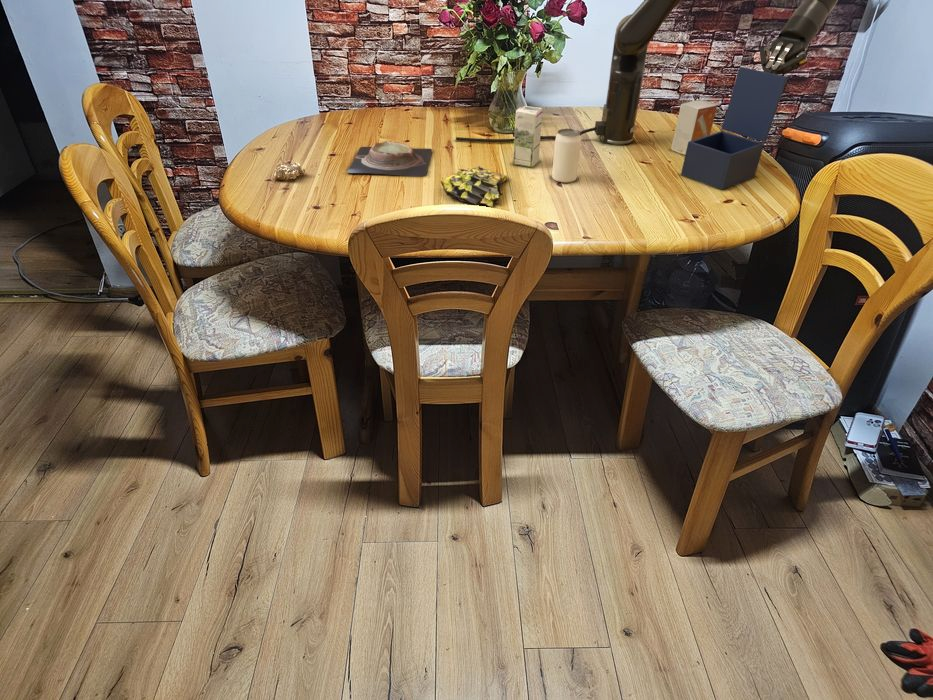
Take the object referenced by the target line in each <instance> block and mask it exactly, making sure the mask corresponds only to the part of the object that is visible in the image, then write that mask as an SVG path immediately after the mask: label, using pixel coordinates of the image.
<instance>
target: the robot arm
mask: <svg viewBox="0 0 933 700" xmlns="http://www.w3.org/2000/svg"><path fill="white" fill-rule="evenodd" d="M682 1H683V0H643V1H642V2H641V3H640V5H639V6H638V7H637V8H636V9H635V10H634V11H633V12H632V14H631V13H630V14H628V15H626V16H624V17H623V18H622V19H621V20H620V21H619V22H618V25H616V29H615V32H614V33H615V34H614V40H613V48H612V56H611V61H610V70H609V78H608V86H607V91H606V93H607V94H606V101H605V103H604V104H603V108H602V109H603V110H602V116H601V120H596V121H595V124H594V126H593V127H590V128H587V129H584V130H581V131H580V136H582V135H584V134H586V133H590V132H594V133H595V135H596V136H597V137H599V138H600V140H601V142H602V143H603V144H610V145H617V146H623V145H624V146H625V145H629V144H631V143H633V141H634V135H635V133H634V132H635V131H636V130H637V125H636V122H637V115H638V110H639V104H640V97H641V91H642V86H643V80H644V74H645V67H646V58H647V52H648V47H649V44H650V43H651V41H652V39H653V37H654V36H655V35H656V33H657V32H658V31H659V29H660V28H661V26H662V25H663V24H664V22H665V20H666V19H667V18H668V16H669V15H670V14H671V13H672V12H673V11H674V9H675V8H676V7H677V6H678V5H679V4H680V3H681V2H682ZM838 1H839V0H803V1H802V2H801V4H799V6H798V7H797V8H796V9H795V10H794V12H793V13H792V15H791V16H790V18H789V19H788V21H787V22H786V23H785V25H784V27H783V28H782V29H781V30H780V32H779V34H778V36H777V38H776V39H775V40H773V41H772V42H771V44H769V45H767V46H765V45H763V44H762V45H760V46H759V50H758V51H759V58H760V65H761V69H762V71H763V72H768V73H772V74H777V75H781V76H785V75H787V74H789V73H791V72H794V71H795V70H797V69H799V68H801V67H802V66H804V65H806V64H807V63H808V56H807V53H806V49H807V48H808V46H809V45H810V43H811V42H812V41H813V39H814V38H815V36H816V35H817V33H818V32H819V31H820V30H821V28H822V27H823V25H824V23H825V21H826V19H827V18H828V16H829V15H830V13H831V12H832V10H833V9H834V8H835V6H836V5H837V3H838ZM770 54H771V55H770ZM769 55H770V57H769ZM768 57H769V59H768ZM556 136H557V135H540V141H541V140H555V139H556ZM455 141H460V142H475V143H476V142H479V143H514V138H475V137H462V136H461V137H460V136H456V137H455Z"/></svg>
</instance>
